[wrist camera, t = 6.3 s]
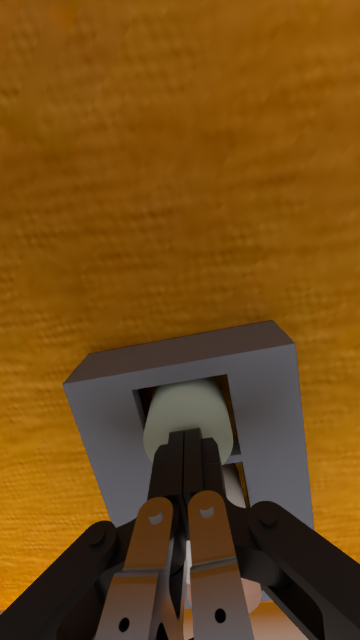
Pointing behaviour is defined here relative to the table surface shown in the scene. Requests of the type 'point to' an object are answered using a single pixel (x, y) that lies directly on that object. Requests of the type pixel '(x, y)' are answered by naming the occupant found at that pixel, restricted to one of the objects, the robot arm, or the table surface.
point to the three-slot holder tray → (188, 364)
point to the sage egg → (189, 414)
